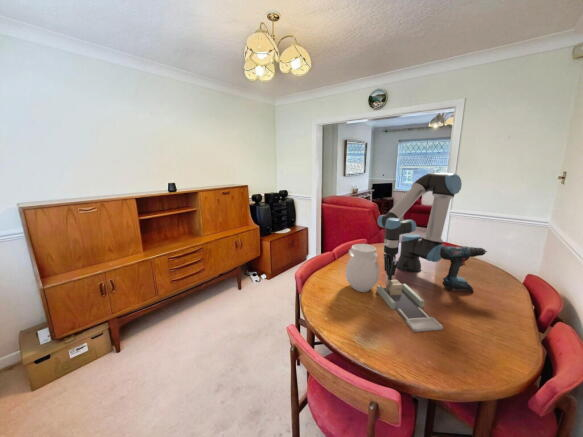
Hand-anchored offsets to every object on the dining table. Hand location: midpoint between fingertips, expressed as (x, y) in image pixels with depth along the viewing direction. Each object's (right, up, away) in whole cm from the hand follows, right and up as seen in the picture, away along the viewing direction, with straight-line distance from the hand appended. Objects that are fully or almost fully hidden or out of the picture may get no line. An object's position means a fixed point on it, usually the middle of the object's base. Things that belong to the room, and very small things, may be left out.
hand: (388, 284), depth 144 cm
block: (+1, -3, -5) cm, 6 cm away
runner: (+1, -5, -14) cm, 16 cm away
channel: (+1, -5, -11) cm, 12 cm away
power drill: (+40, -2, -1) cm, 40 cm away
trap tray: (+3, -10, -33) cm, 34 cm away
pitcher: (-15, -2, +1) cm, 16 cm away
